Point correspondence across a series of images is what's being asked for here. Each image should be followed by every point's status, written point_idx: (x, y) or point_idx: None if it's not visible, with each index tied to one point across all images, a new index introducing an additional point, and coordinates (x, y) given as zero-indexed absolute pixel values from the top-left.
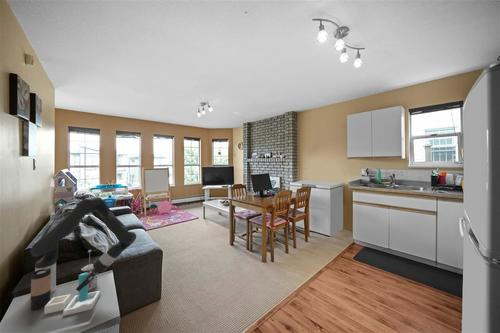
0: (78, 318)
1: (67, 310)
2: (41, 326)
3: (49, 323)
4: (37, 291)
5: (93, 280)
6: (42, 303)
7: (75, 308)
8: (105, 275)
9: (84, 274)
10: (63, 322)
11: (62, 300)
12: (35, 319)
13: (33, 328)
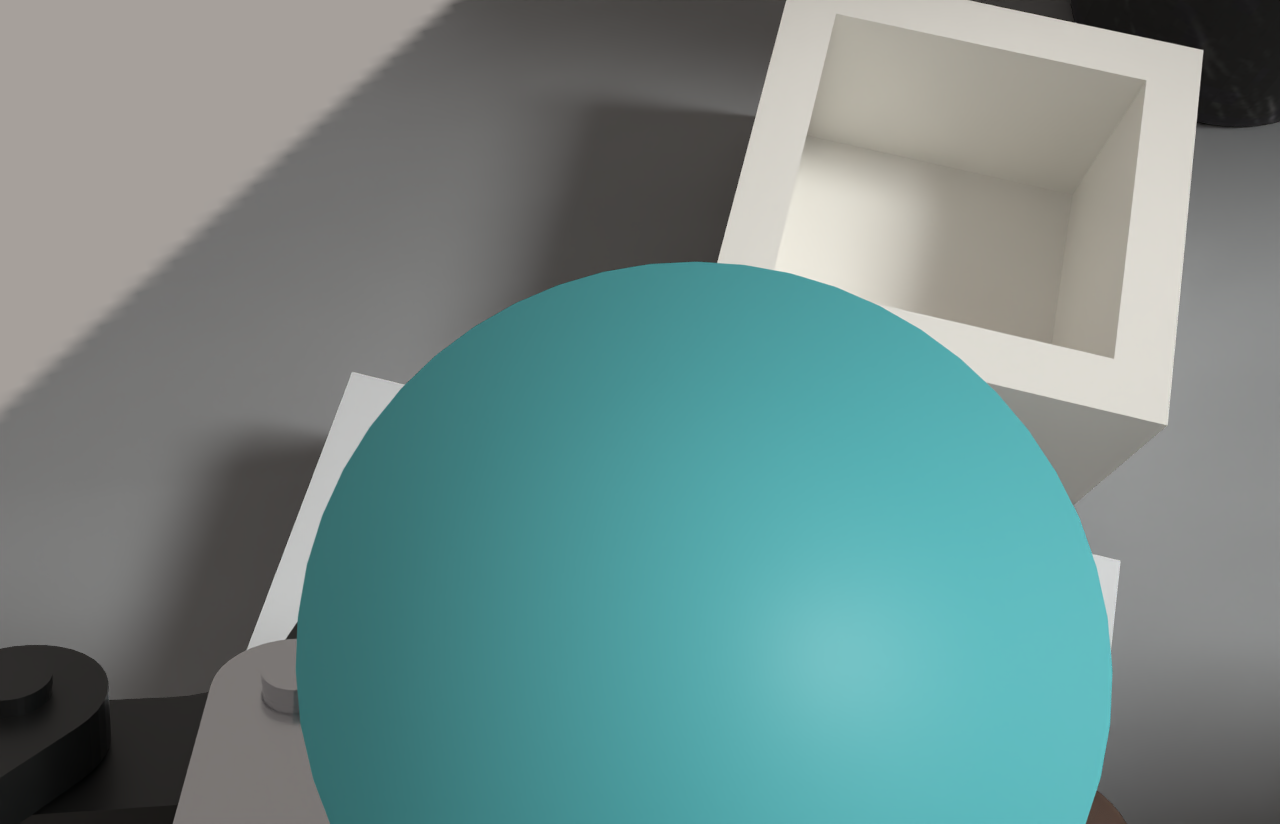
0: None
1: (323, 462)
2: (372, 134)
3: (373, 236)
4: None
5: None
6: None
7: (256, 640)
8: None
9: (598, 728)
10: (174, 468)
11: (1083, 298)
12: (746, 10)
13: (411, 37)
